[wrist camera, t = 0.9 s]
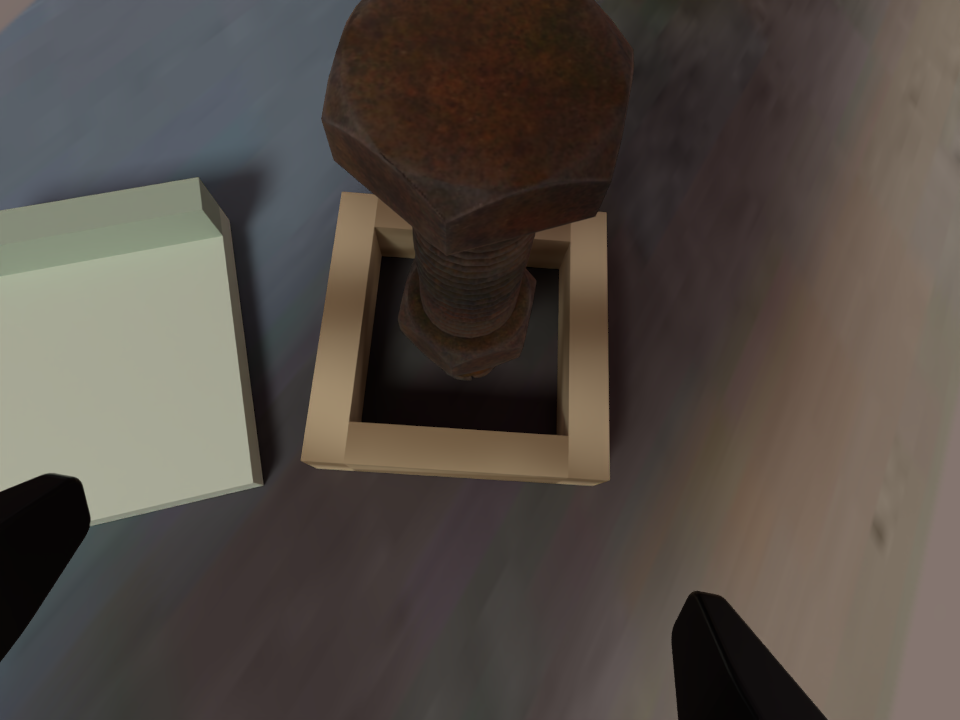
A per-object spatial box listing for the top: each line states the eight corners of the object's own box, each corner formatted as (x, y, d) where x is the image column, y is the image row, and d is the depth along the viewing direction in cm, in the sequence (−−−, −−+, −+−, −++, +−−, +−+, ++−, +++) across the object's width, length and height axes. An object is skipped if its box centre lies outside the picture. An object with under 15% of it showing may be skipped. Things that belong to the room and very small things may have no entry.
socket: (592, 485, 22) (609, 480, 20) (317, 468, 22) (300, 460, 19) (591, 242, 25) (606, 212, 23) (352, 223, 25) (342, 191, 23)
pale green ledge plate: (263, 485, 22) (232, 477, 19) (-12, 550, 20) (-93, 553, 17) (229, 220, 25) (198, 177, 22) (-9, 263, 24) (-77, 223, 21)
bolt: (510, 278, 25) (590, -71, 10) (548, 381, 23) (700, 145, 9) (383, 312, 24) (282, -13, 10) (415, 422, 23) (352, 232, 8)
